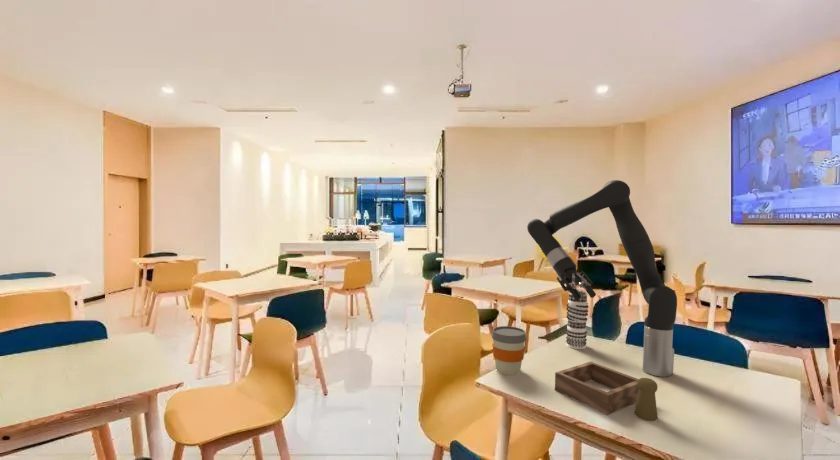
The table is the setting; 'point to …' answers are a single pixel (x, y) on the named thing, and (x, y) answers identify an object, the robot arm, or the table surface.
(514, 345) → the reusable coffee cup
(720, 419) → the table surface
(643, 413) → the olive pawn
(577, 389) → the walnut crate
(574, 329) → the decorative candle
